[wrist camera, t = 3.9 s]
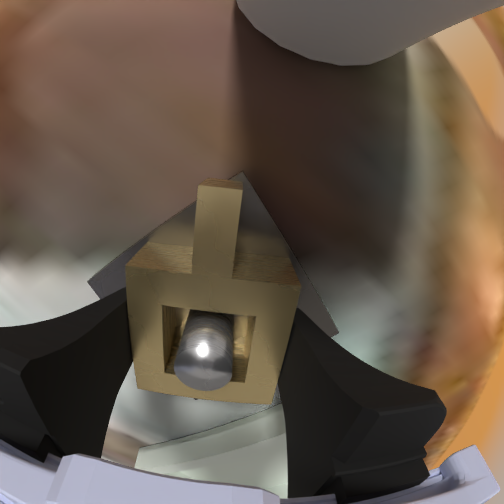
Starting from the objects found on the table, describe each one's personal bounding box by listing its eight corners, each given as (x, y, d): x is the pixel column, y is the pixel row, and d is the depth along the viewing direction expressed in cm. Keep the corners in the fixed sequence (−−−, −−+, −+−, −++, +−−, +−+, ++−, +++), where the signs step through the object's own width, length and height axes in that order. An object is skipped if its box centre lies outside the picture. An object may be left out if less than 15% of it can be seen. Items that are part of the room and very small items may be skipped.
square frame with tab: (266, 366, 13) (271, 404, 10) (151, 352, 12) (137, 388, 10) (301, 190, 10) (318, 200, 8) (151, 173, 10) (126, 179, 7)
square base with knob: (197, 389, 14) (187, 455, 10) (94, 274, 12) (44, 325, 8) (334, 323, 13) (365, 387, 9) (242, 170, 11) (242, 181, 6)
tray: (225, 496, 20) (225, 514, 18) (139, 447, 16) (133, 470, 14) (378, 446, 17) (386, 466, 15) (333, 378, 14) (344, 407, 12)
